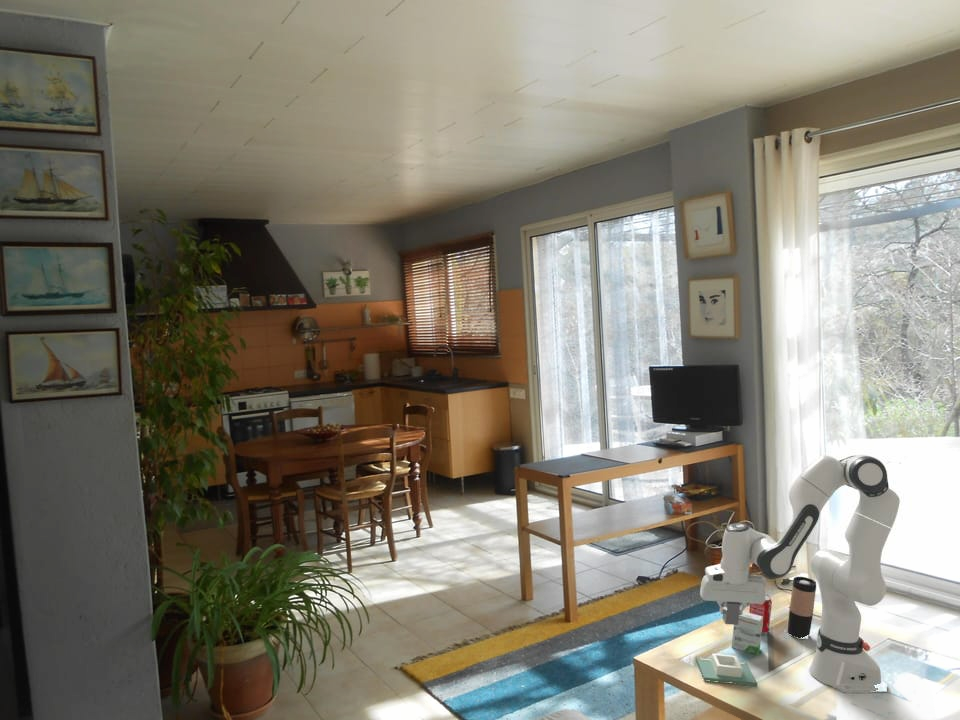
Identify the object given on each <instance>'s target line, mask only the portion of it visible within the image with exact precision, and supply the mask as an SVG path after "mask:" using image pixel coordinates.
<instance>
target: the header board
mask: <svg viewBox="0 0 960 720" xmlns="http://www.w3.org/2000/svg"><path fill="white" fill-rule="evenodd" d="M695 663H696V665H697V667H698V669H699V672H701V673H700V675H701V674H702V675H701V678H702V677H703V678H702V680H703V679H704V680H710V681H718V682H732V683H736V684H735V685H737V684H740V686H747V687H749V686H750V687H757V686H758V682H757V680H756V677H755V676H754V674H753V672H752V670H751V669H750V666H749V664H748V662H746V661H739V659H738V657H737V655H732V654H723V653H711V658H707V657H698V656H697V657H696V658H695ZM704 680H703V681H704ZM718 682H717V683H718Z"/></svg>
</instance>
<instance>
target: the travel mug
mask: <svg viewBox="0 0 960 720" xmlns="http://www.w3.org/2000/svg"><path fill="white" fill-rule="evenodd" d="M792 581H793V582H792V587H791V596H790V602H789V611H788V622H787V634H788V633H789V634H791V635H792V636H795V637H798V638H801V637H802V638H803V637H805V636H807V635H809V634H810V633H811V628H812V623H813V618H814V617H813V615H814V608H815V606H814V605H815V599H816V592H817V582H816V581H815V580H814V579H812V578H809V577H804V576H795V577H794V578H793V580H792ZM789 634H788V635H789ZM792 636H791V637H792ZM809 636H810V635H809Z"/></svg>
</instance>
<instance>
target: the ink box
mask: <svg viewBox="0 0 960 720" xmlns="http://www.w3.org/2000/svg"><path fill="white" fill-rule="evenodd" d="M762 624H763V616H759V615H755V614H751V613H749V611H748V612H747V611H744V610H743V614H742V615H739V621H738V625H733V631H732V637H731V638H732V639H731V640H732V641H731V647H732V648H734V649H736V650H740V651H744V652H747V653H750V654H755V655H759V653H760V651H761V641H762V635H763V634H762Z"/></svg>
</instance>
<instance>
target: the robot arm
mask: <svg viewBox="0 0 960 720" xmlns="http://www.w3.org/2000/svg"><path fill="white" fill-rule="evenodd" d="M886 468H887V467H886V466H885V465H884V463H882V461H881V460H880V459H878V458H876V457H873V456H869V455H865V454H858V455H851V456H848V457H845V458H842V459H836V458H834V457H833V456H829V455H820V456H818V457H817V458H816V459H815V460H813V461H812V462H811V463H810V464H809V465H808V466H807V467H805V469H804V470H803V471H802V472H801V473H800V474H799V476H797V478H796V479H795V480H794V481H793V483H792V485H791V487H790V489H789V491H788V500H789V502H790V505H791V509H792V519H791V521H790V524H789V525H788V526H787V528H786V529H785V531H784V532H783V534H782V535H781V537H780V539H779V540H778V541H776V540H775V539H774V538H773V537H772V536H770V535H769V534H766V533H764V532H759V531H757V530H755V529H754V528H752V527H751V526H750V525H748V524H746V523H741V522H736V523H732V524H731V523H730V524H729V525H728V526H727V527H726V528H725V529H724V532H723V536H722V544H721V552H722V557H721V560H720V563H717V564H714V565H709V566H707V567H705V568H704V572H705V575H703V577H702V579H701V582H700V590H699V596H700V597H701V599H702V600H703V601H709V602H717V604H718V606H719V614H720V615H721V614H722V615H723V614H725V611H726V609H725V607H723V606H722V605H724V602H737V603H739V604H740V603H741V605H740V609H739V615H742V614H743V611H744V610H745V609H746V608H747V607H748V604H750V603H753V604H763V603H764V602H765V594H766V590H765V588H766V587H767V583H768V582H767V578H770V579H780V578H783V577H786V575H788V574H789V573H790V572H791V570H792V569H793V565H794V563H795V559H796V558H797V556H798V553H799V551H800V550H801V549H802V547H803V546H804V544H805V542H806V540H808V537H809V536H810V535H811V533H812V531H813V530H814V528H815V526H816V525H817V523H818V521H819V518H820V515H821V513H822V510H823V509H824V507H825V506H826V504H827V502H828V501H829V500H830V498H832V496H833V495H834V493H835V492H836V491H837V490H838V489H840V488H841V487H843V486H848V487H850V488H852V489H854V490H857V491H858V493H859V501H858V504H857V506H856V508H855V510H854V512H853V515H852V517H851V519H850V521H849V524H848V525H847V527H846V529H845V533H844V536H845V537H844V538H845V540H846V542H847V544H848V549H849V550H848V551H849V552H848V553H849V554H848V556H847V555H846V554H843V553H841V552H839V551H836V550H832V549H826V548H823V549H820V550H817V551H816V552H815V553H814V555H813V556H812V557H811V560H810V569H811V572H812V574H813V575H814V577H815V579H816V581H817V582H816V583H817V586H818V588H819V592H820V599H821V619H820V627H819V629H818V633H817V636H816V650H815V653H814V657H813V659H812V662H811V664H810V666H809V668H808V672H809V673H810V674H811V675H812V677H814V679H816V680H818V681H819V682H821V683H822V684H826V685H827V686H831V687H833V688H835V689H837V690H838V691H840V692H841V693H849V694H850V693H851V694H852V693H854V694H855V693H865V692H866V693H867V692H871V691H876V690H878V688H875V686H874V685H877V684H880V683H881V676H882V673H881V669H880V666H879V665H878V662H877V661H876V660H875V659H874V658H873V657H872V656H871V655H870V654H869V653H868V652H869V651H870V650H871V646H870V645H869V643H867V642H866V641H864V639H863V638H862V637H860V630H861V623H862V614H861V612H860V609H859V608H858V606H857V604H856V603H859V604H862V605H865V606H868V607H869V606H875V605H877V604H879V603H880V602H882V600H883V599H884V598H885V596H886V592H887V585H886V582H885V579H884V578H883V574H882V569H881V567H882V565H881V561H882V560H881V559H882V553H883V549H884V547H885V544H886V542H887V540H888V537H889V535H890V533H891V530H892V529H893V526H894V524H895V521H896V518H897V515H898V512H899V508H900V504H901V503H900V502H901V501H900V497H899V495H898V494H897V492H895V491H894V490H893V489H891V488H890V487H889V480H888V471H887V469H886ZM752 564H755V565H756V566H757V568H758V569H759V570H760V572H762V574H763V575H764V576H763V575H762V574H751V573H750V566H751V565H752ZM766 577H767V578H766ZM866 693H865V694H866ZM867 694H868V693H867Z"/></svg>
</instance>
